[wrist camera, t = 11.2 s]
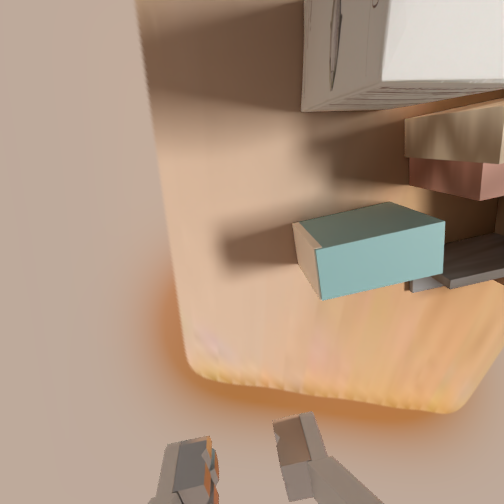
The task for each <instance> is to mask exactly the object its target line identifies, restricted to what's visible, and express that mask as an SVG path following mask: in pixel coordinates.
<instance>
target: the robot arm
mask: <svg viewBox="0 0 504 504" xmlns="http://www.w3.org/2000/svg"><path fill="white" fill-rule="evenodd" d="M272 422H273V428H274V434H275V438H276V442H277V451H278V457H279V462H280V468H281V472H282V476H283V480H284V482H285V487H286V491H287V495H288V499H289V502H292V501H296V500H302V499H307V498H312V497H314V499H315V500H316V501H317V502H318V504H384V503H383V502H382V501H381V500H380V499H378V498H377V497H376V496H375V495H374V494H373V493H372V492H371V491H370V490H369V489H368V488H366V487H365V486H364V485H363V484H362V483H361V482H360V481H359V480H358V479H357V478H356V477H354V475H352V474H351V473H350V472H349V471H348V470H347V469H346V468H345V467H344V466H343V465H342V464H341V463H339V462H338V461H337V460H336V459H335V458H334V457H333V456H330V457H328V455H327V452H326V449H325V446H324V443H323V440H322V437H321V434H320V431H319V428H318V425H317V422H316V419H315V416H314V414H313V412H312V411H310V412H306V413H302V414H299V415H298V414H296V415H292V416H288V417H284V418H280V419H276V420H273V421H272ZM218 481H219V465H218V458H217V454H216V451H215V450H214V449H213V448H212V441H211V438H210V436H205V437H200V438H195V439H190V440H185V441H181V442H176V443H171V444H168V445H167V447H166V449H165V452H164V457H163V463H162V468H161V473H160V478H159V483H158V488H157V493H156V497H154V498H151V500H150V501H149V503H148V504H219V494H218V492H217V489H216V485H217V483H218Z"/></svg>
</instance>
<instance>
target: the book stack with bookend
mask: <svg viewBox="0 0 504 504" xmlns="http://www.w3.org/2000/svg"><path fill="white" fill-rule="evenodd" d="M405 157H409V185H411V186H415V187H420V188H424V189H429V190H433V191H437V192H442V193H446V194H451V195H455V196H459V197H464V198H468V199H473V200H477V201H482V200H487V199H491V198H496V197H499V199H498V207H497V216H496V224H495V232H494V233H491V234H486V235H482V236H477V237H473V238H468V239H464V240H459V241H455V242H450V243H446V244H444V258H443V273H442V274H437V275H433V276H429V277H424V278H420V279H415V280H411V281H410V291H411V292H412V293H415V292H419V291H424V290H428V289H432V288H437V287H441V286H446V287H447V288H449V289H453V288H458V287H462V286H467V285H471V284H475V283H480V282H484V281H489V280H495V281H497V282H499V283H501V284H502V285H504V98H499V99H495V100H490V101H485V102H481V103H476V104H472V105H467V106H462V107H458V108H453V109H449V110H444V111H439V112H435V113H430V114H426V115H421V116H416V117H412V118H407V119H405Z"/></svg>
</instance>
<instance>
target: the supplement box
mask: <svg viewBox="0 0 504 504" xmlns="http://www.w3.org/2000/svg"><path fill="white" fill-rule="evenodd" d="M500 89H504V0H304V55H303V81H302V99H301V112H315V111H355V110H384V109H393V108H399V107H406V106H412V105H417V104H423V103H429V102H434V101H440V100H445V99H450V98H455V97H461V96H466V95H472V94H478V93H483V92H488V91H494V90H500Z"/></svg>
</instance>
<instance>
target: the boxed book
mask: <svg viewBox="0 0 504 504" xmlns="http://www.w3.org/2000/svg"><path fill="white" fill-rule="evenodd" d="M292 227H293V234H294V240H295V246H296V253H297V259H298V265H299V266H300V268H301V270H302V271H303V273H304V274H305V276H306V278H307V279H308V281H309V283H310V284H311V286H312V287H313V289H314V291H315V292H316V294H317V296H318V297H319V299H320V300H322V301H323V300H327V299H332V298H336V297H340V296H345V295H349V294H354V293H358V292H362V291H367V290H371V289H376V288H380V287H385V286H389V285H393V284H398V283H402V282H407V281H411V280H415V279H420V278H424V277H429V276H433V275H437V274H442V273H443V258H444V238H445V221H444V220H441V219H438V218H435V217H432V216H429V215H427V214H424V213H421V212H418V211H415V210H412V209H409V208H407V207H404V206H401V205H398V204H395V203H392V202H386V203H382V204H377V205H373V206H368V207H364V208H359V209H355V210H350V211H346V212H341V213H337V214H332V215H328V216H323V217H319V218H314V219H310V220H305V221H301V222H296V223H292Z"/></svg>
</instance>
